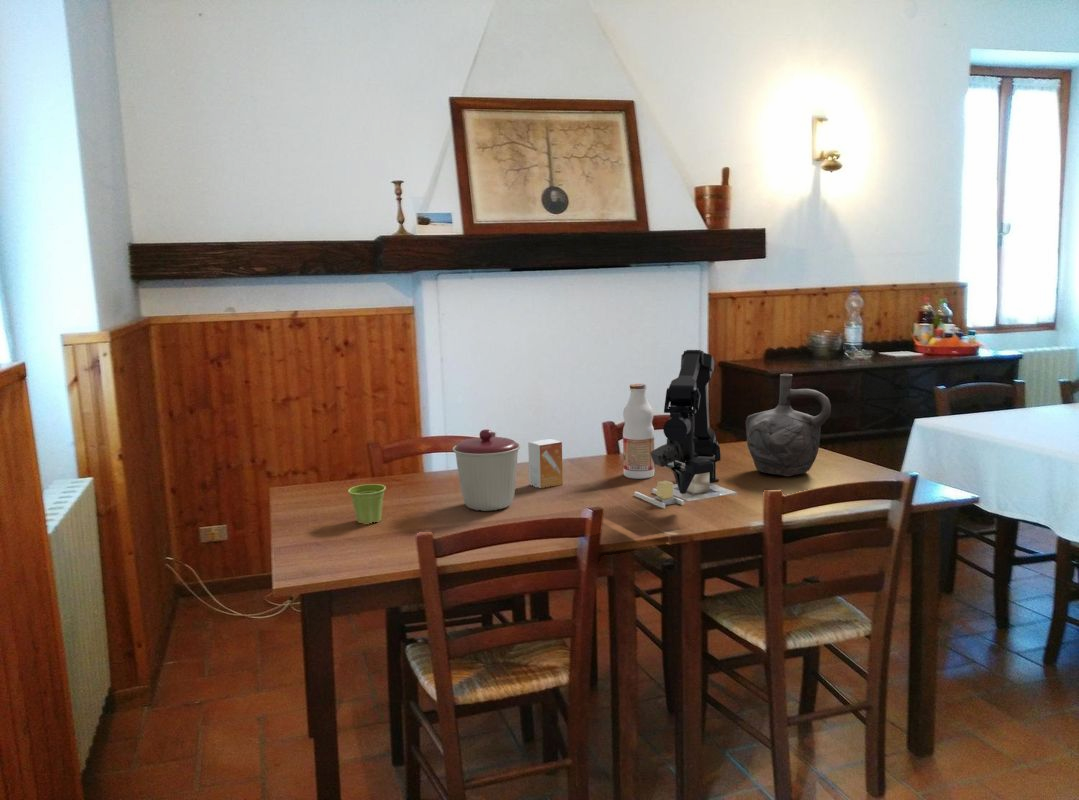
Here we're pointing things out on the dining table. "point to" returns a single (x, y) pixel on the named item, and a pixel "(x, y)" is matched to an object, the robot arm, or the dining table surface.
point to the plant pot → (367, 502)
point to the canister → (487, 471)
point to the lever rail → (656, 500)
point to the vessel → (786, 433)
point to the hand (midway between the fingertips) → (682, 493)
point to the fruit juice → (638, 435)
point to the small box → (545, 463)
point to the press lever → (665, 493)
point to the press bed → (702, 493)
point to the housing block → (700, 483)
